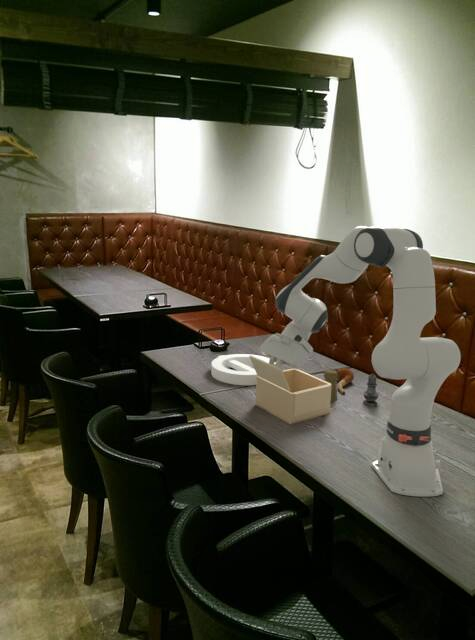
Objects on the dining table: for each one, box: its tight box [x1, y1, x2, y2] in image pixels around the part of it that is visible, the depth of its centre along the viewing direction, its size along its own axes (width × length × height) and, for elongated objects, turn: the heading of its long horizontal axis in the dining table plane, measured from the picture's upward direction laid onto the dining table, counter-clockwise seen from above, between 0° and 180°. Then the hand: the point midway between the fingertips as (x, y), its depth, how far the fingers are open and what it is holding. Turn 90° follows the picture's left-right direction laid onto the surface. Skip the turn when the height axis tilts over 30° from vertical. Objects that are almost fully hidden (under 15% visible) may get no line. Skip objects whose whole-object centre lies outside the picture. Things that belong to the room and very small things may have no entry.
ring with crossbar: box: [210, 353, 275, 386], centre depth 240 cm, size 28×28×5 cm
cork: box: [323, 369, 338, 402], centre depth 214 cm, size 6×6×11 cm
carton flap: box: [249, 355, 290, 391], centre depth 194 cm, size 1×18×9 cm, turn 34°
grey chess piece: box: [362, 372, 380, 406], centre depth 211 cm, size 6×6×12 cm
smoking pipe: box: [335, 367, 355, 395], centre depth 228 cm, size 7×18×6 cm, turn 173°
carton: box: [255, 368, 332, 425], centre depth 203 cm, size 19×21×11 cm
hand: (269, 370), depth 194 cm, fingers closed, pressing on carton flap
